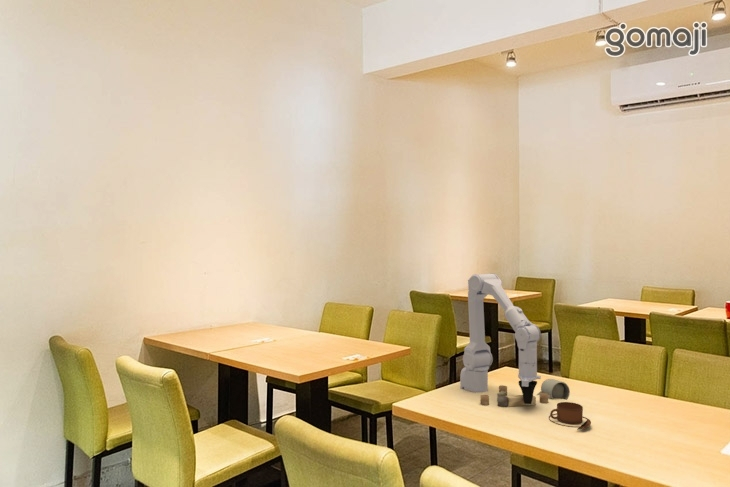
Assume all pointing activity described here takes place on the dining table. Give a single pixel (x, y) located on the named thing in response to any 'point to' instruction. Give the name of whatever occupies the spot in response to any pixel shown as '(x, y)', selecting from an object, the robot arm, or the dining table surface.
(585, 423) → the cup and saucer
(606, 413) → the dining table surface
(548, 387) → the ceramic mug
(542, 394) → the small brown blocks set
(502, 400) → the leg bar
